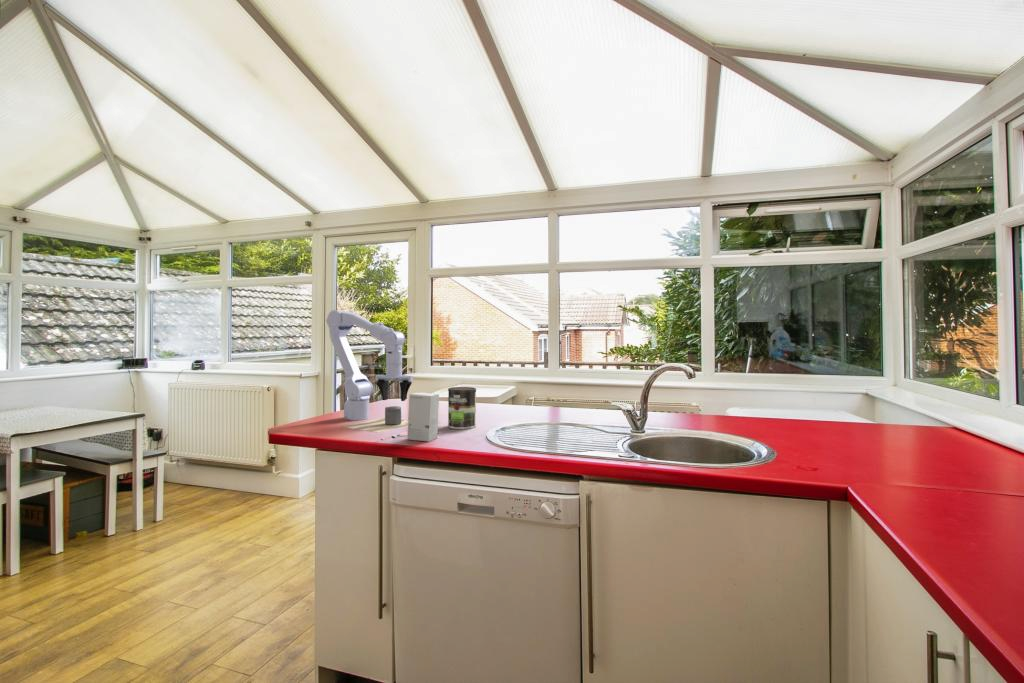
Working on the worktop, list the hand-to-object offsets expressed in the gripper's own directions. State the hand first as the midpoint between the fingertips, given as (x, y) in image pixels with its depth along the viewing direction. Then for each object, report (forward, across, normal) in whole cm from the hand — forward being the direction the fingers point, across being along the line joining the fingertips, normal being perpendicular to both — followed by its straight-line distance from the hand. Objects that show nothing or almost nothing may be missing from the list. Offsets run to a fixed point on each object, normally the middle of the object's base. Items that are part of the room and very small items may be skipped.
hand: (394, 400), depth 176 cm
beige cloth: (+9, -1, -6) cm, 11 cm away
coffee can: (+10, +25, +5) cm, 27 cm away
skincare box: (+10, +20, -18) cm, 29 cm away
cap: (+7, +2, -5) cm, 9 cm away
